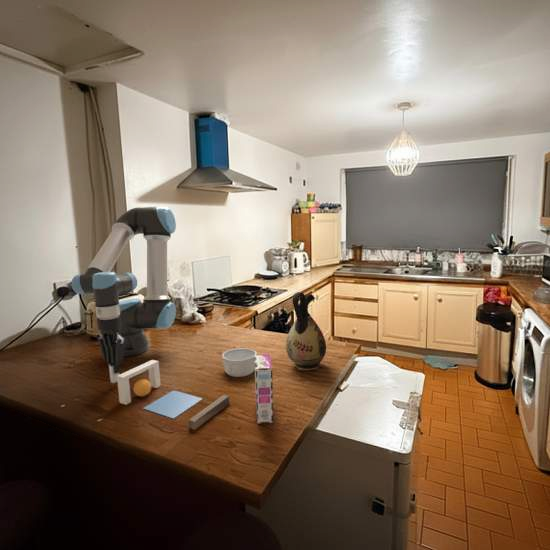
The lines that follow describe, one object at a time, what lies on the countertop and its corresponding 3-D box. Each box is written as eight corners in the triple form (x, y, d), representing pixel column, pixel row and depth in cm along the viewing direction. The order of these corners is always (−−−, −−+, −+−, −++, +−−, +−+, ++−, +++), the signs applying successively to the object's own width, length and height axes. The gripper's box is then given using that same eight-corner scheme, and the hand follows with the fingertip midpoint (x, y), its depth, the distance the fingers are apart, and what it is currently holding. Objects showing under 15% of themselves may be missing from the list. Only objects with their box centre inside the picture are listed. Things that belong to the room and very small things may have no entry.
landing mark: (142, 408, 111) (142, 408, 111) (173, 390, 122) (173, 390, 122) (173, 418, 104) (173, 418, 104) (202, 399, 116) (202, 398, 116)
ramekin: (226, 364, 143) (225, 347, 142) (258, 363, 143) (258, 347, 142) (220, 379, 130) (219, 361, 129) (255, 378, 130) (255, 360, 129)
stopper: (189, 428, 99) (188, 420, 99) (224, 402, 113) (223, 394, 113) (194, 430, 98) (194, 421, 98) (229, 403, 112) (228, 396, 112)
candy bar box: (274, 423, 101) (272, 368, 98) (256, 424, 100) (254, 369, 98) (271, 403, 112) (269, 353, 109) (255, 404, 111) (253, 354, 109)
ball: (131, 398, 118) (128, 382, 117) (144, 391, 123) (141, 375, 122) (143, 400, 115) (140, 384, 115) (156, 392, 120) (153, 377, 119)
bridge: (119, 402, 115) (116, 375, 113) (154, 384, 127) (152, 359, 126) (125, 404, 113) (123, 377, 112) (160, 385, 126) (158, 361, 124)
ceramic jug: (299, 355, 150) (298, 286, 145) (333, 363, 141) (332, 289, 136) (276, 370, 136) (274, 293, 131) (311, 379, 127) (310, 297, 123)
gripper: (86, 317, 123) (94, 381, 126) (111, 321, 116) (118, 389, 120) (106, 312, 129) (112, 373, 133) (130, 316, 123) (136, 380, 126)
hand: (115, 381), depth 126 cm, fingers closed
